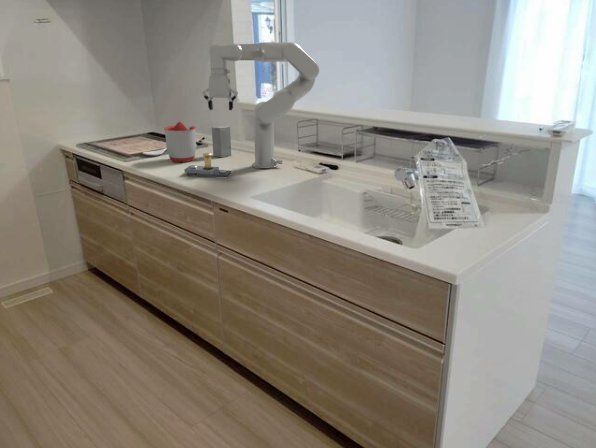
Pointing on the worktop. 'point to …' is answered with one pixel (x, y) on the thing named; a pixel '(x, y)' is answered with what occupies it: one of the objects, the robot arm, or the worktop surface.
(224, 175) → the lower link
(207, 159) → the brass pin
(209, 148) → the worktop surface
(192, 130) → the citrus juicer
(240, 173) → the worktop surface
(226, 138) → the skincare box
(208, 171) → the upper link
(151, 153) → the spoon
